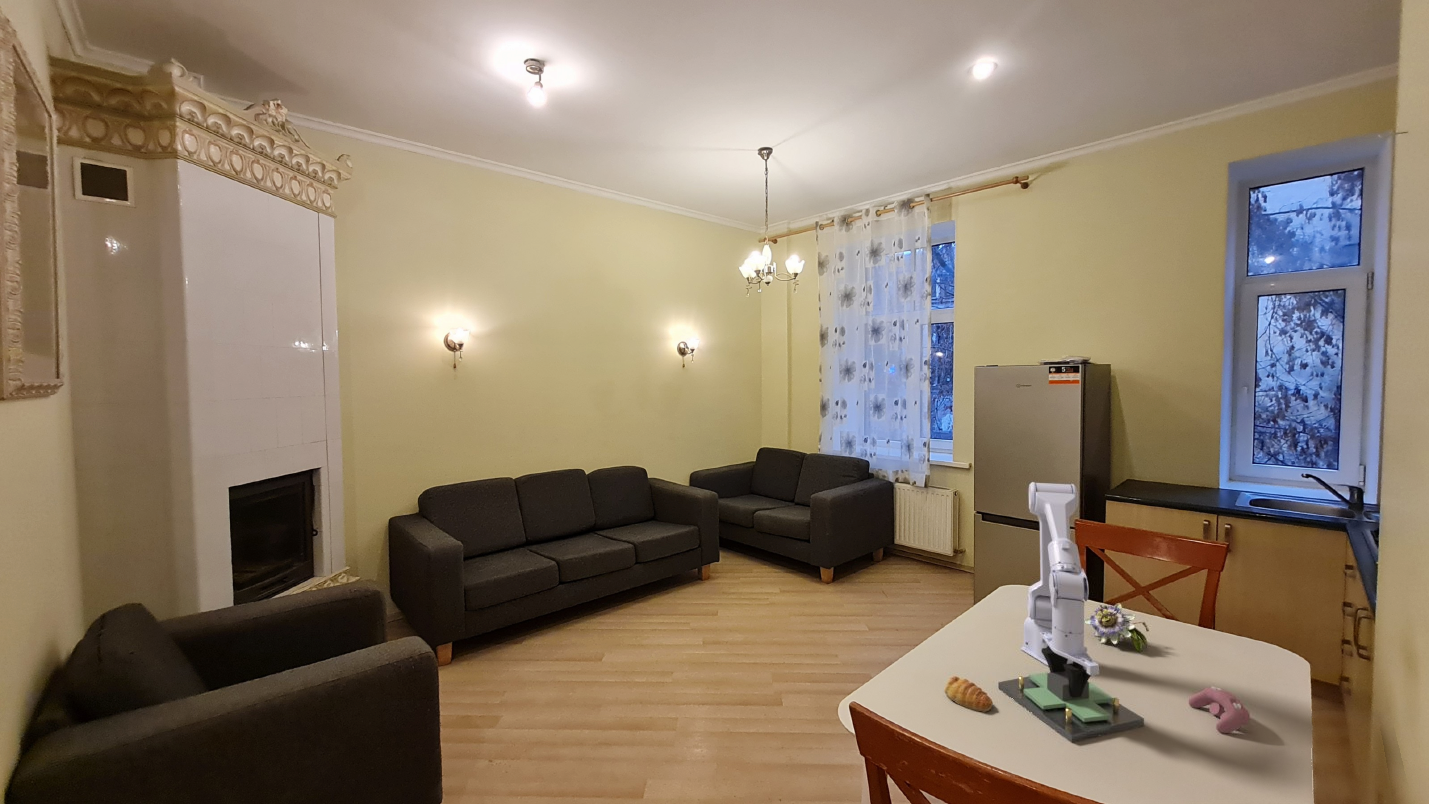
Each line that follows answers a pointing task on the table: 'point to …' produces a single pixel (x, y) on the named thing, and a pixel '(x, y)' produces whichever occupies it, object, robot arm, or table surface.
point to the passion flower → (1116, 626)
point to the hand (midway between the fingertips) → (1067, 689)
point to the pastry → (967, 694)
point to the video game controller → (1222, 708)
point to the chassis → (1068, 721)
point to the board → (1075, 706)
